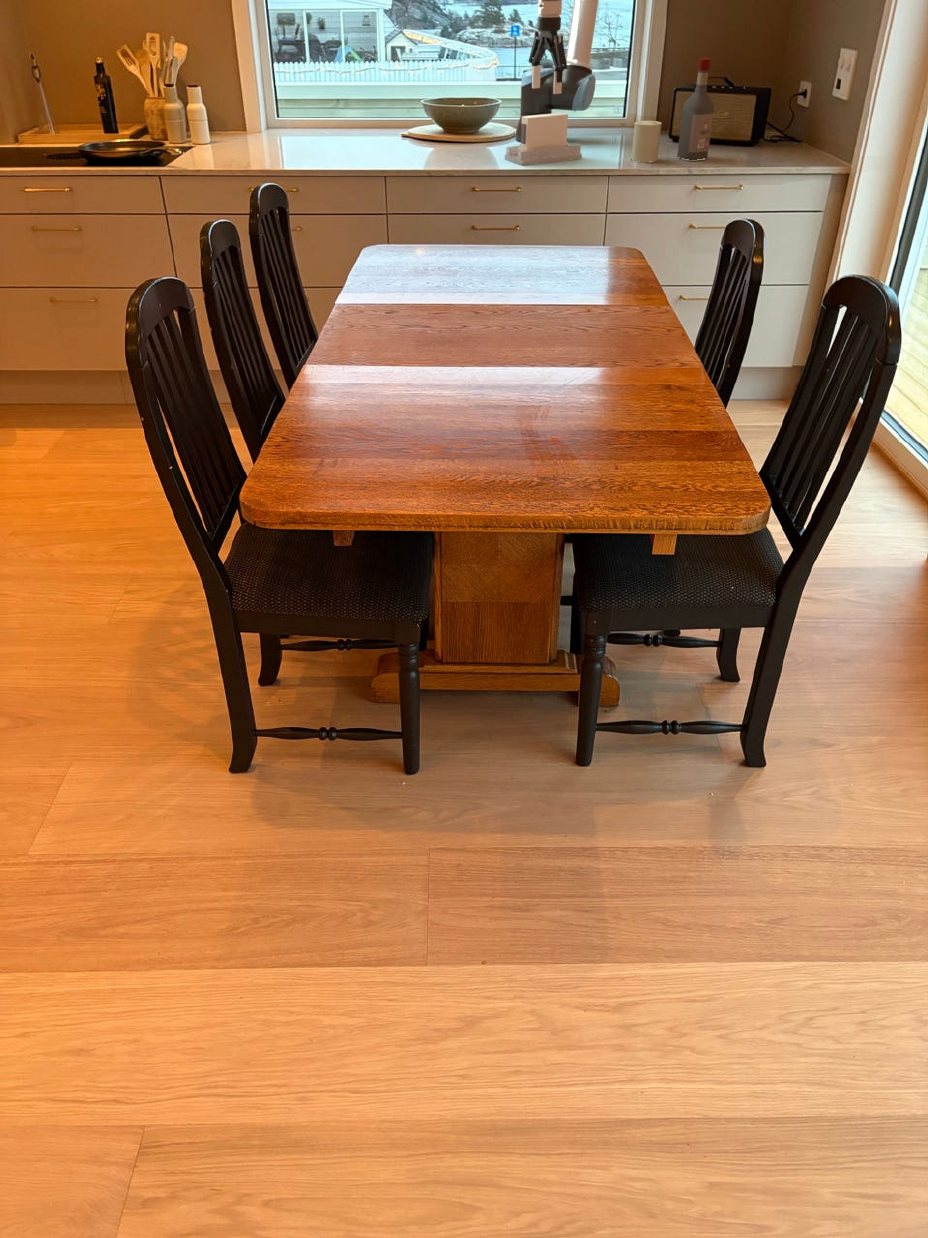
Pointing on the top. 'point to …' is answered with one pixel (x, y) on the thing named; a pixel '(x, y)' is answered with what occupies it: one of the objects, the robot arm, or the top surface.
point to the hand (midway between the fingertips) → (546, 90)
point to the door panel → (544, 131)
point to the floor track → (542, 154)
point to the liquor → (697, 118)
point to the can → (646, 141)
